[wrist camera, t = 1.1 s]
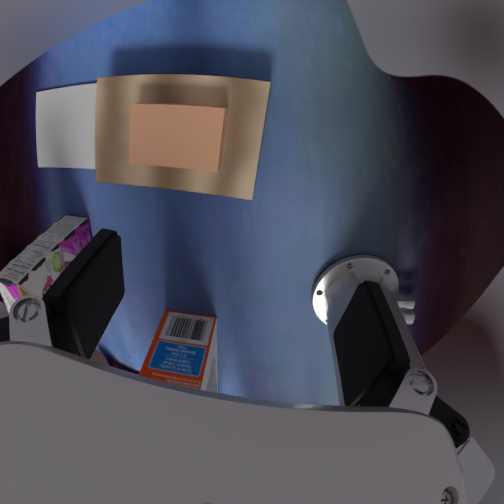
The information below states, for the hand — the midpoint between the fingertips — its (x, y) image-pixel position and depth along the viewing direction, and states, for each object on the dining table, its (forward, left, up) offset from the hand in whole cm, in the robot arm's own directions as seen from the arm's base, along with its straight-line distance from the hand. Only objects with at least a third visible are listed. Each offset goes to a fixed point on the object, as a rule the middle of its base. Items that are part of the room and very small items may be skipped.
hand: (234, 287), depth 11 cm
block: (+8, -2, -19) cm, 21 cm away
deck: (+9, -2, -23) cm, 25 cm away
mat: (+25, -2, -23) cm, 34 cm away
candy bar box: (+24, +16, -23) cm, 37 cm away
